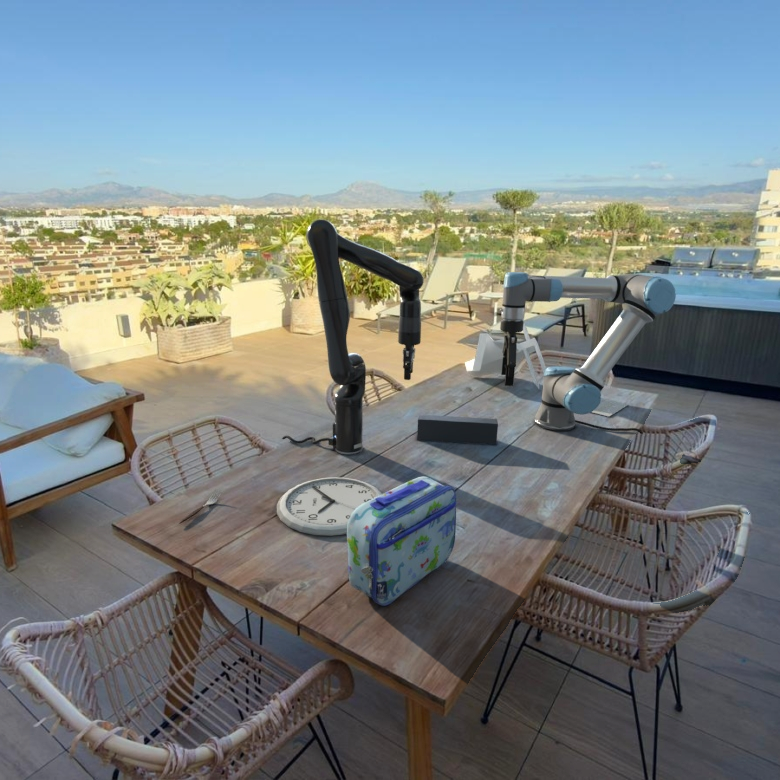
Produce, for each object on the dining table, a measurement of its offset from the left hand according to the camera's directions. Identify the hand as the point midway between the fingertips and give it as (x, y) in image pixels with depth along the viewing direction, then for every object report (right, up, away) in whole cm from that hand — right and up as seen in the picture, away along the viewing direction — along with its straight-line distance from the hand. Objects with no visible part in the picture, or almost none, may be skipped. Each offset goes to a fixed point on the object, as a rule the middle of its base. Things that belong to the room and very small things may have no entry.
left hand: (408, 376), depth 179 cm
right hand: (+34, -1, +2) cm, 35 cm away
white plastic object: (+50, -2, +79) cm, 93 cm away
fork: (-57, -37, -40) cm, 79 cm away
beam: (+18, -23, +9) cm, 30 cm away
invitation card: (+85, -12, +47) cm, 98 cm away
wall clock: (-22, -36, -37) cm, 56 cm away
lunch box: (-3, -46, -66) cm, 80 cm away
